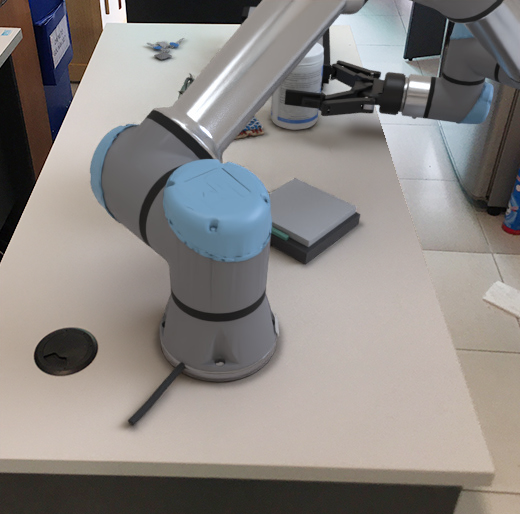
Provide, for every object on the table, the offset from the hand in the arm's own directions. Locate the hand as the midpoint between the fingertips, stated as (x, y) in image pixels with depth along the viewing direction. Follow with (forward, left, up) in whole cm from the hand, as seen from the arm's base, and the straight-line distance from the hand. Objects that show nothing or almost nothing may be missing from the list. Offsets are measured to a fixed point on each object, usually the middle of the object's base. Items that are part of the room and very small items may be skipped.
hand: (291, 82), depth 123 cm
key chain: (+7, +46, -8) cm, 47 cm away
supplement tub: (0, -1, -8) cm, 8 cm away
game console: (+19, +18, -8) cm, 27 cm away
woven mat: (-11, +6, -8) cm, 15 cm away
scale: (-28, -24, -8) cm, 37 cm away
